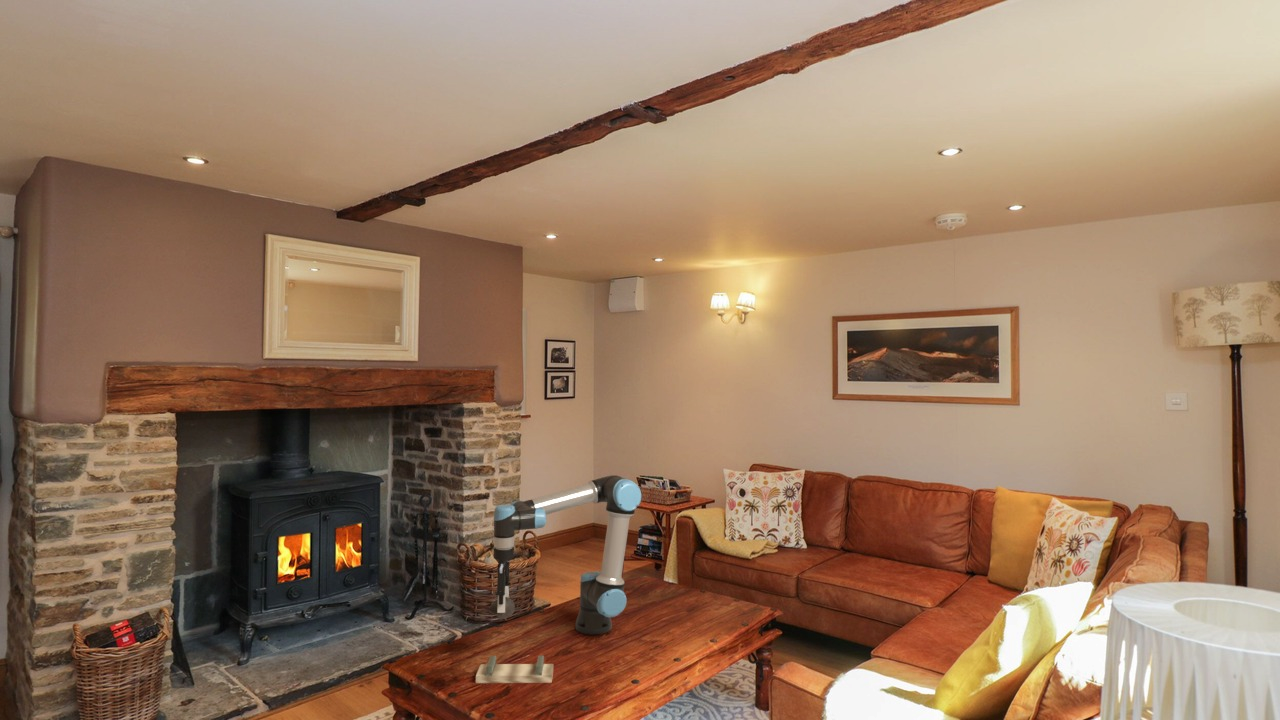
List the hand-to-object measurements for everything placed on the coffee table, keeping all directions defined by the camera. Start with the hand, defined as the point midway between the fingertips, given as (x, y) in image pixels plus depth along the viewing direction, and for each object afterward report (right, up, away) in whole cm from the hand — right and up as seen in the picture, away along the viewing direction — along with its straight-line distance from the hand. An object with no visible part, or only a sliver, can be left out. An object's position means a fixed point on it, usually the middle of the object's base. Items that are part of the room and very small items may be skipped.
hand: (503, 607), depth 254 cm
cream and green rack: (+7, -19, -15) cm, 25 cm away
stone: (-1, -3, +1) cm, 3 cm away
